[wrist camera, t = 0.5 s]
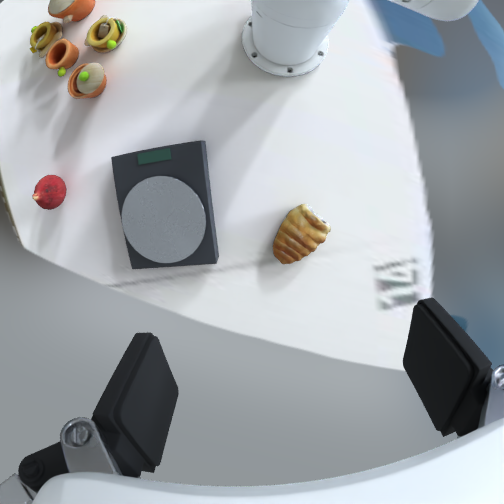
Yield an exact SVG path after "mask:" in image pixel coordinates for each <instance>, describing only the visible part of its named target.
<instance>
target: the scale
mask: <svg viewBox="0 0 504 504" xmlns="http://www.w3.org/2000/svg"><path fill="white" fill-rule="evenodd" d="M111 159H112V166H113V173H114V180H115V187H116V193H117V199H118V204H119V210H120V215H121V220H122V208H123V204H124V201H125V199H126V197H127V195H128V193H129V192H130V191H131V189H132V188H133V187H134V186H135V185H137V184H138V183H139V182H141V181H143V180H145V179H147V178H150V177H154V176H170V177H174V178H177V179H179V180H181V181H183V182H185V183H186V184H188V185H189V186H190V187H191V188H192V189H193V190H194V191H195V192H196V193H197V195H198V196H199V198H200V199H201V201H202V203H203V206H204V209H205V213H206V230H205V234H204V237H203V239H202V241H201V243H200V245H199V246H198V248H197V249H196V250H195V251H194V252H193V253H192V254H191V255H190V256H188V257H187V258H185V259H183V260H181V261H178V262H173V263H159V262H155V261H152V260H150V259H147V258H146V257H144V256H142V255H141V254H139V253H138V252H137V251H136V250H135V249H134V248H133V247H132V245H131V244H130V243H129V241H128V239H127V237H126V235H125V233H124V235H125V240H126V244H127V248H128V253H129V257H130V261H131V265H132V269H143V268H158V267H173V266H187V265H202V264H216V263H217V260H218V257H219V253H218V246H217V238H216V230H215V223H214V215H213V207H212V198H211V190H210V181H209V173H208V164H207V154H206V145H205V141H195V142H188V143H181V144H175V145H169V146H163V147H158V148H152V149H147V150H142V151H137V152H133V153H128V154H123V155H119V156H115V157H111Z"/></svg>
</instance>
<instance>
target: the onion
mask: <svg viewBox="0 0 504 504" xmlns="http://www.w3.org/2000/svg"><path fill="white" fill-rule="evenodd" d="M65 196H66V186H65V183H64V181H63V180H62V179H61V178H60V177H58V176H56V175H47V176H45V177H43V178H42V179H41V180H39V182H38V183H37V185H36V186H35V191H34V194H33V199H34V200H36V202H37V204H38V205H39V206H40V207H42V208H43V209H48V210H51V209H54V208H56V207H58V206H59V205H60V204H61V203H62V202H63V200H64V198H65Z"/></svg>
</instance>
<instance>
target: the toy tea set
mask: <svg viewBox="0 0 504 504" xmlns="http://www.w3.org/2000/svg"><path fill="white" fill-rule="evenodd" d="M94 5H95V0H50V3H49V6H48V12H49V14H50V15H51V16H53V17H57V18H61V19H63V22H64V23H69V22H71V21H79V20H82V19H83V18H85V17H86V16H87V15H89V13H90V12H91V11H92V10H93V8H94ZM113 18H114V19H113ZM126 31H127V27H126V24H125V23H124V21H122V20H120V19H116V18H115V17H110V18H108V17H107V16H106V15H103V16H102V17H101V18H100V19H99V20H98V21H97V22H95V23H94V24H93V25H92V26H91V27H90V29H89V31H88V33H87V38H86V40H85V46H90V45H91V46H92V47H93V49H94V50H95V51H97V52H100V53H105V52H109V51H111V50H113V49H115V48H116V47H117V46H118V45H119V44H120V43H121V42H122V41H123V39H124V37H125V35H126ZM31 32H32V35H31V38H30V44H31V46H32V47H31V48H30V50H31V51H32V53H34V52H36V51H38V52H40V54H39V57H40V58H43V57H44V56H45V55H46V54H47V55H46V59H45V62H46V66H47V67H48V68H50V69H59V71H58V76H60V77H62V76H64V75H65V73H66V70H65V69H68V68H70V67H71V66H72V65H73V64H74V63H75V62H76V60H77V58H78V55H79V51H78V48H77V47H76V46H75V45H73V44H72V43H71V42H69V41H68V40H67V39H64V38H62V39H61V37H62V26H61V24H60V23H58V22H53V23H49V22H44V23H42V24H40V25H39V26H38V27H37V26H35V27H33V28H32V30H31ZM105 86H106V76H105V74H104V69H103V67H102V66H101V65H100V64H98V63H90V64H87V63H86V64H82V65H80V66H78V67H77V68H76V69H75V70H74V71H73V72H72V74H71V76H70V78H69V81H68V92H69V94H70V95H71V96H72V97H73V98H76V99H80V98H92V97H96V96H98V95H100V94H101V93H102V91H103V90H104V88H105Z"/></svg>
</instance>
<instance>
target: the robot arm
mask: <svg viewBox="0 0 504 504" xmlns="http://www.w3.org/2000/svg"><path fill="white" fill-rule="evenodd" d="M389 1H391V2H394V3H396V4H399V5H401V6H404V7H406V8H408V9H411V10H413V11H416V12H418V13H420V14H423V15H425V16H427V17H430V18H433V19H437V20H441V21H454V20H457V19H460V18H462V17H464V16H465V15H467V14H468V13H469V12H470V11H471V10H472V9H473V8H474V7H475V5H476V4H477V2H478V1H479V0H389ZM348 2H349V0H251V5H252V16H251V17H250V18H249V20H248V21H247V22H246V24H245V26H244V29H243V32H242V43H243V47H244V50H245V53H246V54H247V56H248V58H249V59H250V60H251V61H252V62H253V63H254V64H255V65H256V66H258V67H259V68H260V69H262V70H264V71H266V72H268V73H271V74H274V75H279V76H299V75H302V74H306V73H308V72H310V71H312V70H314V69H315V68H316V67H317V66H318V65H320V63H321V62H322V61H323V60H324V58H325V56H326V54H327V51H328V44H329V41H328V33H329V32H330V30H331V29H332V28H333V26H334V25H335V23H336V22H337V20H338V19H339V18H340V16H341V15H342V13H343V12H344V10H345V9H346V7H347V5H348ZM250 25H252V27H251V26H250ZM318 54H320V55H321V56H319V55H318ZM254 55H255V56H256V58H254V57H253V56H254ZM288 70H290V71H291V73H289V72H288ZM491 365H492V363H491V362H490V361H489V359H488V358H487V357H486V355H484V353H483V352H482V351H481V350H480V348H479V347H478V346H477V345H476V344H475V342H474V341H473V340H472V339H471V338H470V337H469V336H468V334H467V333H466V332H465V331H464V330H463V329H462V328H461V327H460V326H459V324H458V323H457V322H456V321H455V320H454V319H453V318H452V317H451V316H450V315H449V314H448V313H447V312H446V310H445V309H444V308H443V307H442V306H441V305H440V304H439V303H438V302H437V301H436V300H435V299H434V298H427V299H423V300H419V301H418V303H417V305H415V306H414V308H413V314H412V320H411V325H410V330H409V335H408V340H407V344H406V349H405V353H404V357H403V366H404V369H405V370H406V372H407V374H408V376H409V378H410V380H411V381H412V383H413V385H414V387H415V389H416V391H417V393H418V395H419V397H420V398H421V400H422V402H423V404H424V406H425V408H426V410H427V412H428V414H429V416H430V418H431V420H432V422H433V424H434V426H435V428H436V430H438V431H441V433H442V435H443V437H444V436H446V435H449V434H451V433H453V432H455V431H456V433H457V435H458V437H457V439H455V440H453V441H451V442H449V443H446V444H444V445H441V446H439V447H436V448H434V449H431V450H429V451H426V452H424V453H421V454H418V455H416V456H413V457H410V458H407V459H404V460H401V461H398V462H395V463H391V464H388V465H385V466H381V467H377V468H374V469H370V470H366V471H362V472H357V473H354V474H349V475H344V476H339V477H333V478H328V479H322V480H316V481H308V482H300V483H292V484H282V485H269V486H268V485H266V486H240V487H239V486H238V487H237V486H234V487H233V486H232V487H231V486H202V485H189V484H178V483H168V482H159V481H153V480H145V479H141V478H140V475H141V471H145V472H152V473H154V470H155V467H156V466H159V465H160V462H161V459H162V455H163V450H164V446H165V443H166V439H167V435H168V431H169V427H170V424H171V420H172V416H173V413H174V409H175V405H176V401H177V397H178V387H177V384H176V382H175V379H174V377H173V375H172V372H171V370H170V368H169V365H168V362H167V360H166V357H165V355H164V353H163V350H162V347H161V345H160V342H159V339H158V338H157V337H156V336H154V335H153V334H152V333H136V334H135V336H134V337H133V339H132V341H131V343H130V344H129V346H128V348H127V350H126V351H125V353H124V355H123V357H122V359H121V361H120V363H119V364H118V366H117V368H116V370H115V372H114V373H113V375H112V377H111V379H110V381H109V383H108V385H107V387H106V389H105V391H104V393H103V394H102V396H101V398H100V400H99V402H98V404H97V406H96V408H95V410H94V412H93V416H92V419H91V420H90V419H89V418H85V417H78V418H74V419H72V420H70V421H69V422H67V423H66V424H65V425H64V427H63V428H62V430H61V433H60V442H58V443H56V444H54V445H51V446H49V447H47V448H45V449H42V450H40V451H38V452H35V453H33V454H31V455H28V456H27V457H25V458H24V459H23V460H22V461H21V463H20V465H19V470H18V471H19V475H17V474H15V473H14V474H13V475H12V476H10V477H9V478H8V479H7V480H5V481H4V482H3V483H2V484H0V504H504V364H503V365H499V366H498V367H496V368H495V369H494V370H492V368H491Z"/></svg>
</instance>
